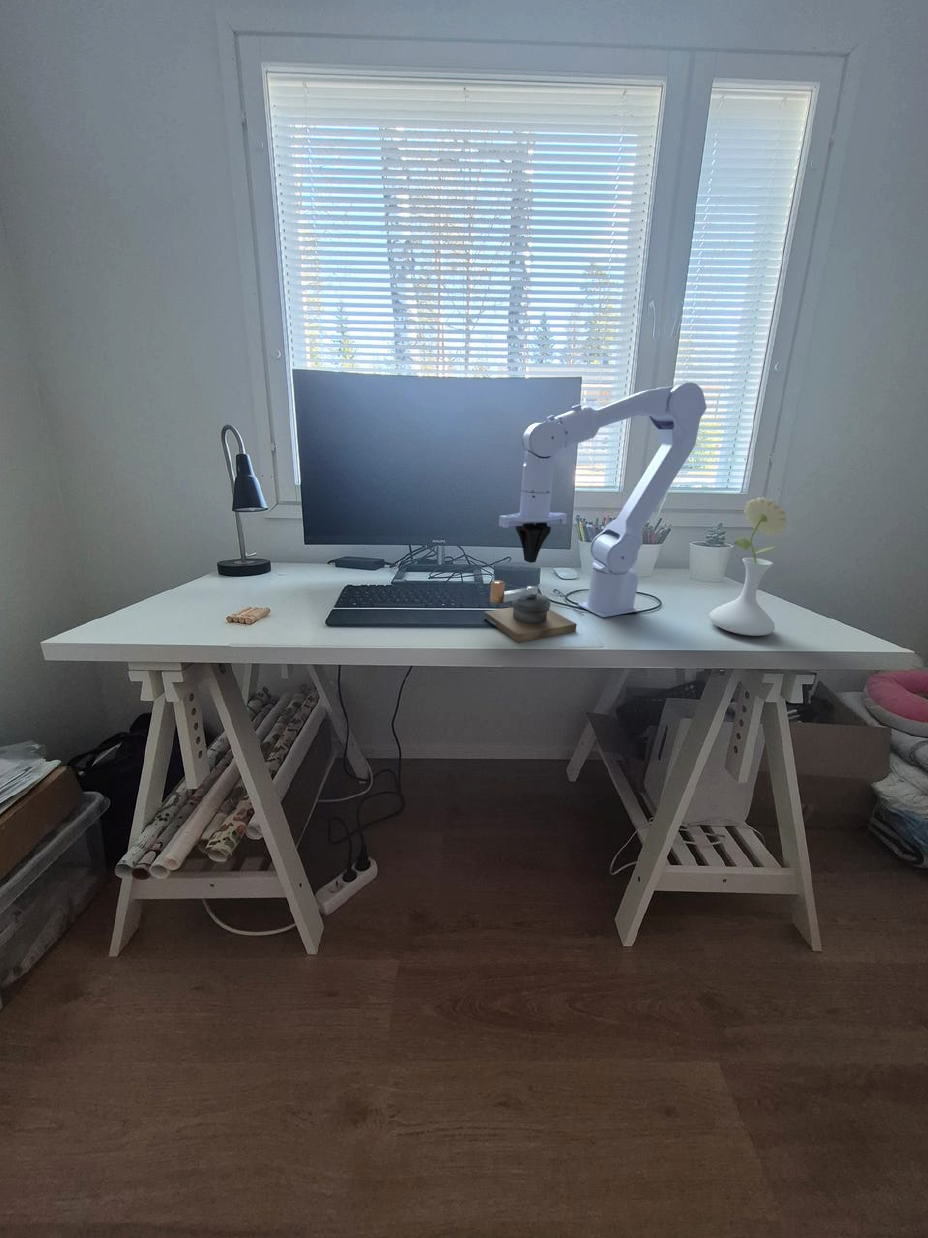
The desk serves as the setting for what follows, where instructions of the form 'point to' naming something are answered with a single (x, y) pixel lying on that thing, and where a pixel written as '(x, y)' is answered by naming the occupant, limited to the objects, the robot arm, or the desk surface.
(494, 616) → the wooden base with cylinder
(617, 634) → the desk surface
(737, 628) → the flower in vase
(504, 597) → the hammer
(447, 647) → the desk surface
